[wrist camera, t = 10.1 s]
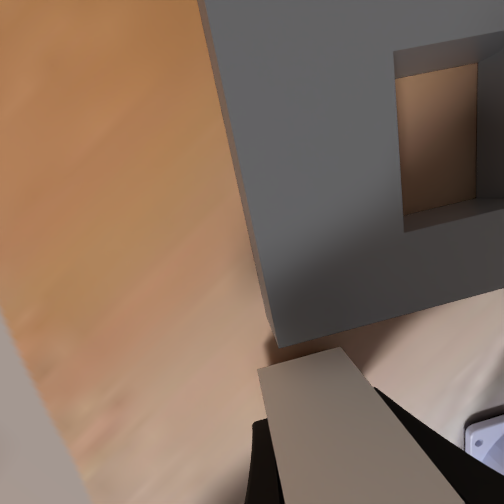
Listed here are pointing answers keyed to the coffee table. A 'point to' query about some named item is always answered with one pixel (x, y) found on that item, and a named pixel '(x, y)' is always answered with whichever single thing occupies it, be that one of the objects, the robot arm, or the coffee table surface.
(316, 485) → the plug
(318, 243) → the socket plate
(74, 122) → the coffee table surface
